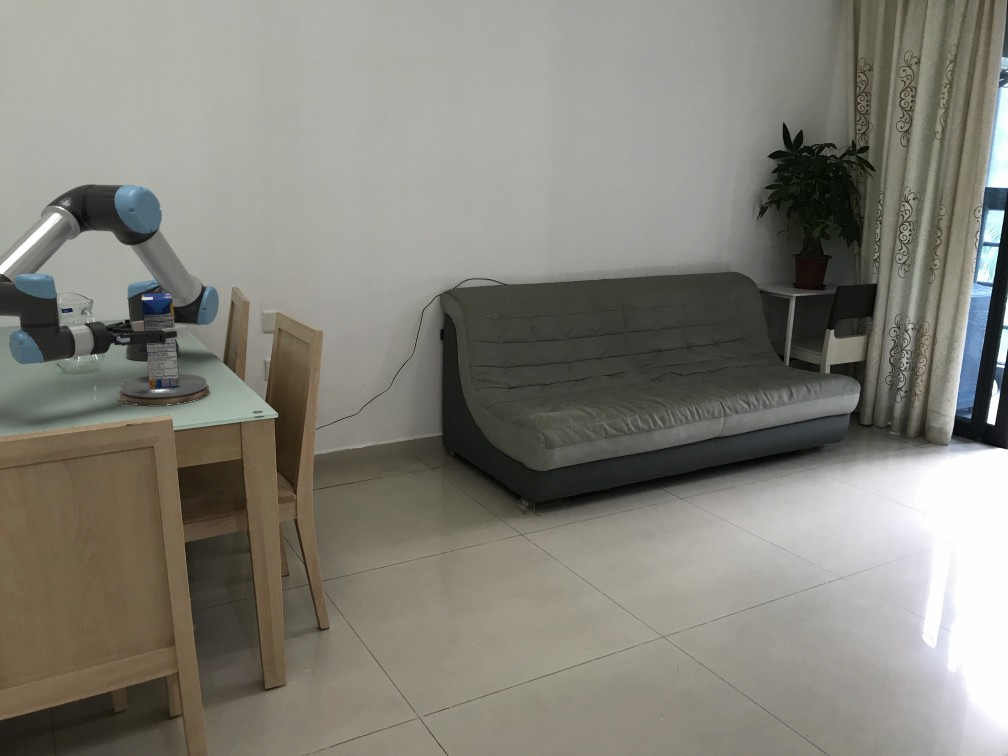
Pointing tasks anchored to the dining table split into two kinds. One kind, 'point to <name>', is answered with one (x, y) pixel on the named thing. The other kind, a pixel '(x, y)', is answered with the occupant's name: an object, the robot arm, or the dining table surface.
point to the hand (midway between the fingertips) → (171, 328)
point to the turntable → (142, 388)
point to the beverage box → (160, 355)
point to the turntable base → (162, 401)
